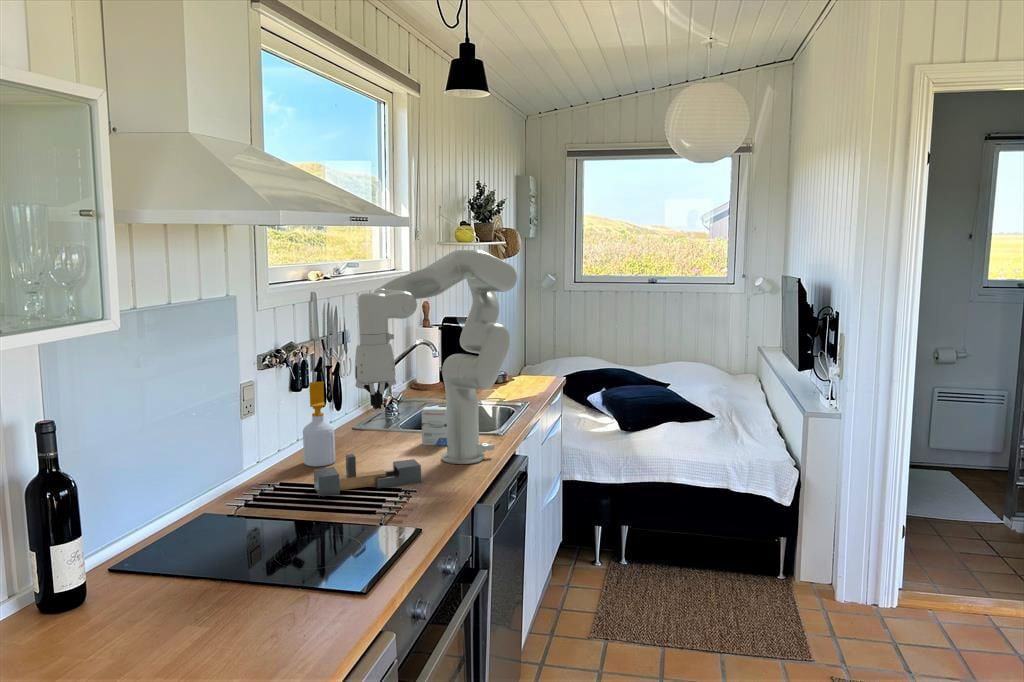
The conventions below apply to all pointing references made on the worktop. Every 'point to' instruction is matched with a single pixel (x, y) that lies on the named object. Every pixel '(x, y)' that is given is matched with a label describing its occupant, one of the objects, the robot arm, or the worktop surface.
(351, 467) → the sliding bolt with handle
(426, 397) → the worktop surface
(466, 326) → the robot arm
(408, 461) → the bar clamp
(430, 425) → the ink box
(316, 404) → the soap bottle
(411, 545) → the worktop surface
